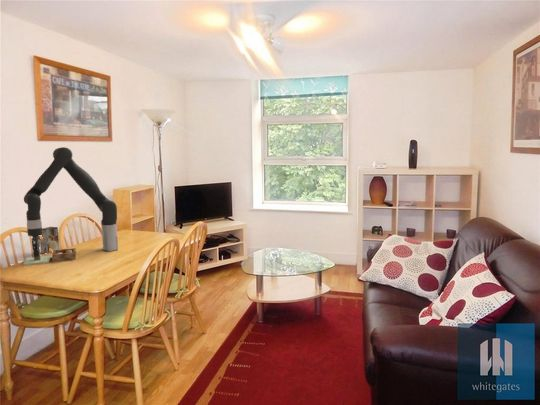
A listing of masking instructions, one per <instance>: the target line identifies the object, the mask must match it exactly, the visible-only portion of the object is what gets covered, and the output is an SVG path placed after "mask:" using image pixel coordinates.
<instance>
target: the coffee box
mask: <svg viewBox="0 0 540 405" xmlns="http://www.w3.org/2000/svg"><path fill="white" fill-rule="evenodd" d="M42 237H43V241H42V240H41V239H40V247H39V248H40V254H41V253H42V254H51V253H50V251H49V248H51V249H52V250H53V251H54V250H61V249H60V240H59V229H58V227H57V226H47V227H42Z"/></svg>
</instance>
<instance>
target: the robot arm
mask: <svg viewBox="0 0 540 405" xmlns="http://www.w3.org/2000/svg"><path fill="white" fill-rule="evenodd" d="M52 157H53V161H52V162H51V163H50V165H49V166H48V167H47V168H46V169H45V170H44V172H42V173H41V174H40V176H39V178H38V179H37V180H35V183H34V184H33V186H31V188H30V189H29V190H28V191H27V192H26V193H25V195H24V196H23V201H24V204H26V205H27V211H26V213H25V214H26V229H27V232H26V233H27V236H28V237H31V239H30V240H31V241H30V242H31V246H32V251H34V253H33V258H34V257H38V256H39V254H38V249H40V248H41V247H40V236H39V235H42V228H43V225H42V224H43V223H42V219H41V218H42V217H41V209H42V208H41V206H42V202H41V201H42V200H41V199H42V198H41V196H42V195H43V193H44V194H45V193H46V191H47V190H48V189H49V187H51V185H52V183H53V182H54V180H55V179H56V177H57V176H58V175H59V173H60V172H61V170H62V169H64V170H65V171H66V172H67V173H68V175H69V176H70V177H71V178H72V179H73V181H74V182H75V183H76V184H77V185H78V186H79V188H80V189H81V190H82V192H84V193H85V194H86V195H87V196H88V197H89V198H90V199H92V201H93V203H94V204H95V205H96V207H97V208H98V210H99V211H100V212H101V215H102V218H101V220H100V224H101V237H102V239H101V240H102V241H101V242H102V250H103V251H104V252H112V251H117V250H119V243H118V242H119V241H118V239H119V238H118V228H117V220H118V210H117V209H118V206H117V204H116V202H114V201H113V200H110V199H109V198H107V196H106V195H104V194H103V192H102V191H101V190H100V187H99V186H98V184H97V182H96V181H95V179H94V178H93V176H91V175H90V174H89V173H88V172H87V171H86V170H85V169H83V168H82V167H80V166H79V165H78V164H77V163H76V162H75V161H74V159H73V151H72V150H71V149H70V148H68V147H65V146H64V147H63V146H62V147H58V148H55V149H54V151H53V152H52Z"/></svg>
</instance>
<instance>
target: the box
mask: <svg viewBox="0 0 540 405" xmlns="http://www.w3.org/2000/svg"><path fill="white" fill-rule="evenodd" d="M67 250H72V253H66V251H67ZM57 253H62V254H57ZM51 258H52V263H57V262H67V261H75V260H76V259H77V248H75V247H73V248H64V249H63V248H62V249H60V250H54V251H53V252H52V256H51Z"/></svg>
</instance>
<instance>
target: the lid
mask: <svg viewBox="0 0 540 405" xmlns="http://www.w3.org/2000/svg"><path fill="white" fill-rule="evenodd" d="M32 251H33V250H32ZM33 254H34V251H33ZM38 254H39V256H38V257H34V256H33V257H26V258H25V260H24V261H23V263H22V266H23V267H24V266H31V265H40V264H49V263H50V261H51V258H52V256H51V255H45V256H41V248H39V249H38Z"/></svg>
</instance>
